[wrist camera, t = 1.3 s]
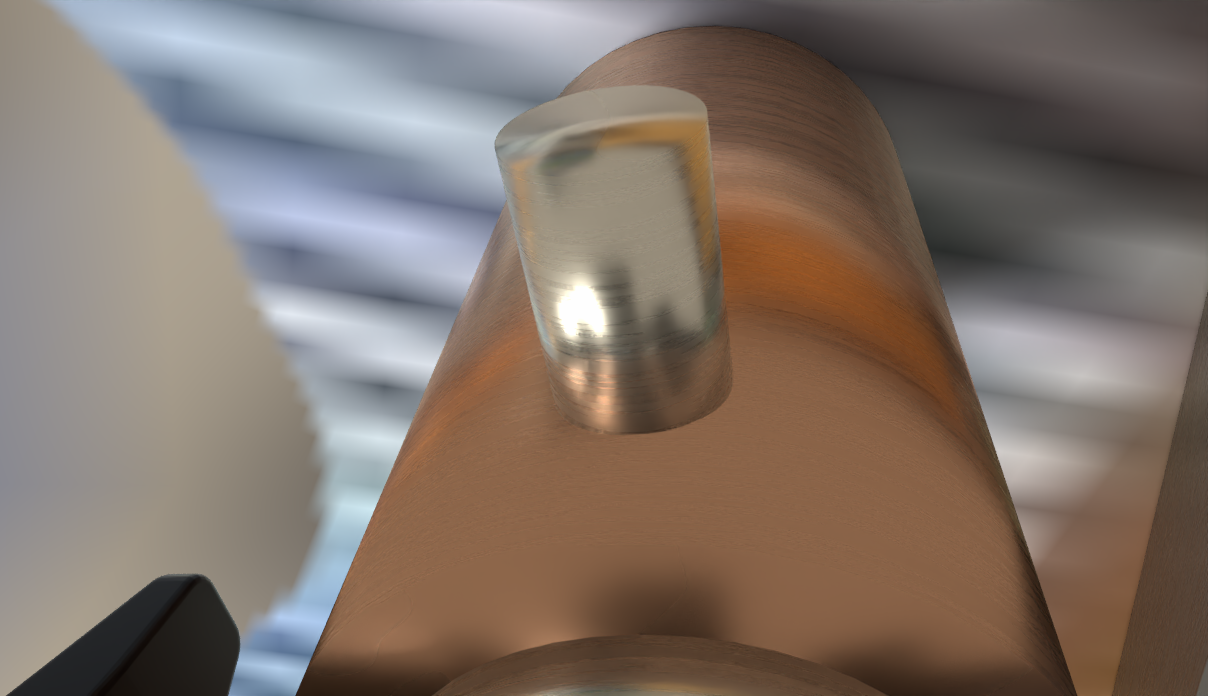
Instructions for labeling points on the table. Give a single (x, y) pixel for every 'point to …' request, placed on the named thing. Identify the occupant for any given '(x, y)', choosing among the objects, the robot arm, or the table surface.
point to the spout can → (697, 419)
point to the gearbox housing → (1176, 560)
